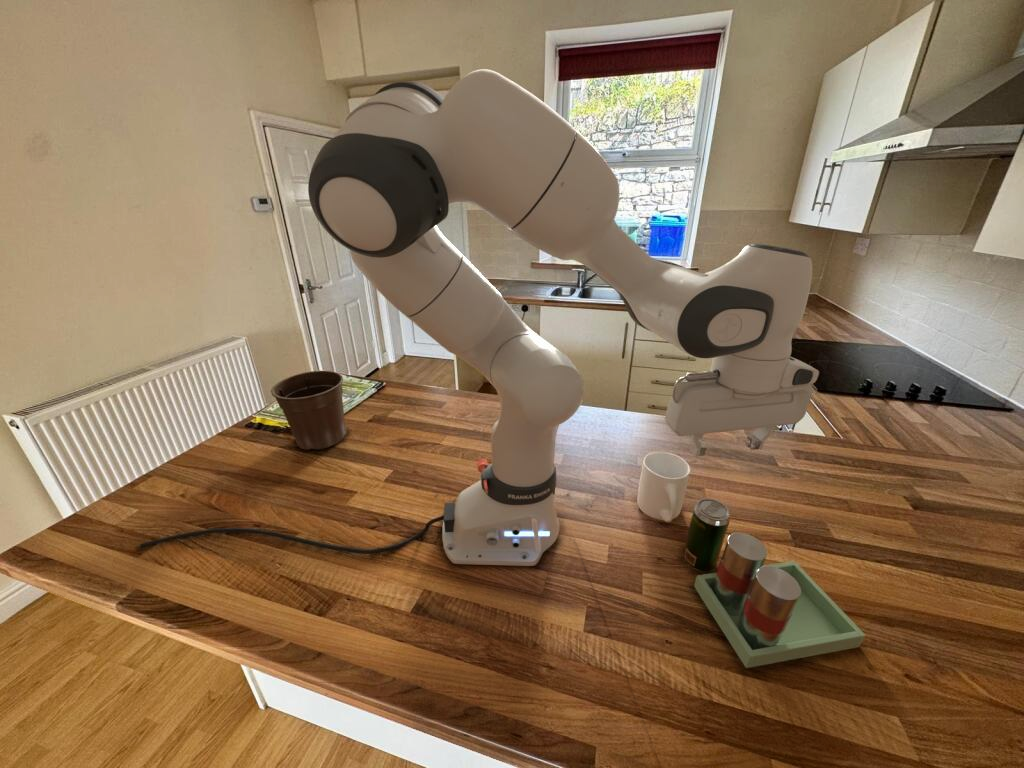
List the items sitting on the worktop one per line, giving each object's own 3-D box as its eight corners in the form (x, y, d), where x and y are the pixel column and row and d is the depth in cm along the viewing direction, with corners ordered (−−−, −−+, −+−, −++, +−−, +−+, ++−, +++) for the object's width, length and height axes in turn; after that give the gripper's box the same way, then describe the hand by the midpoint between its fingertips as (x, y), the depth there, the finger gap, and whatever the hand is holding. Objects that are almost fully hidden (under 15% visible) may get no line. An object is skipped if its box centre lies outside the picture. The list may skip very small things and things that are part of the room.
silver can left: (723, 618, 60) (742, 562, 55) (703, 588, 65) (720, 534, 59) (754, 613, 61) (776, 557, 56) (732, 584, 65) (751, 530, 60)
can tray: (745, 670, 54) (750, 656, 53) (693, 587, 65) (696, 575, 64) (858, 648, 57) (866, 635, 55) (789, 573, 68) (794, 560, 66)
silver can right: (750, 660, 55) (775, 602, 50) (727, 624, 59) (747, 568, 54) (784, 654, 56) (811, 596, 50) (758, 619, 60) (781, 563, 55)
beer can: (703, 579, 67) (718, 526, 62) (675, 557, 71) (688, 505, 66) (721, 564, 69) (738, 512, 64) (694, 544, 73) (707, 493, 68)
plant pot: (275, 442, 104) (257, 386, 97) (331, 416, 116) (319, 365, 109) (310, 464, 96) (293, 405, 89) (366, 433, 108) (356, 379, 101)
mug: (644, 534, 76) (652, 489, 71) (632, 491, 86) (639, 450, 82) (691, 537, 75) (702, 492, 70) (673, 493, 86) (683, 452, 81)
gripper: (689, 384, 51) (672, 471, 57) (830, 371, 54) (800, 455, 60) (664, 364, 57) (651, 446, 63) (794, 354, 59) (769, 433, 65)
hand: (725, 450), depth 61 cm, fingers open, 8 cm apart
